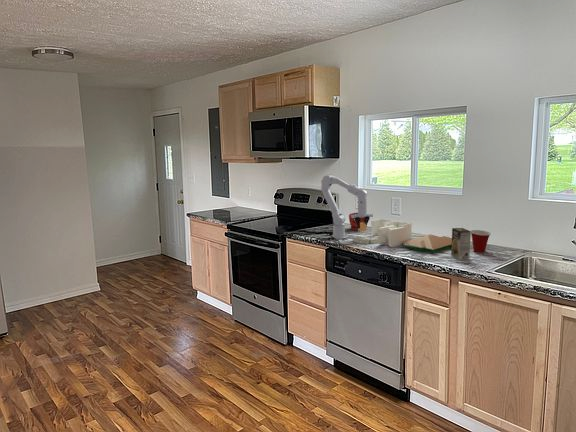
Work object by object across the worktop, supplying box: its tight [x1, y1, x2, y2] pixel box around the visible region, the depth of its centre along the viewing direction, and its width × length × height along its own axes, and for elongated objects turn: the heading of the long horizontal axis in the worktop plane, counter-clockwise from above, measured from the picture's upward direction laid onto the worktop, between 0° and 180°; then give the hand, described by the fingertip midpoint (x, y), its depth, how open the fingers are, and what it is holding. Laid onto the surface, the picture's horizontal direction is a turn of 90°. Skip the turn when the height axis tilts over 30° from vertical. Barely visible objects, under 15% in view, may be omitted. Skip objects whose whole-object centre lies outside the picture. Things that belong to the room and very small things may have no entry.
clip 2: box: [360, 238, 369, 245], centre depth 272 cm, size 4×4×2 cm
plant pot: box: [348, 212, 364, 231], centre depth 315 cm, size 13×13×12 cm
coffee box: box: [450, 227, 472, 261], centre depth 231 cm, size 9×6×16 cm
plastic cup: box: [470, 229, 491, 254], centre depth 242 cm, size 11×11×12 cm
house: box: [401, 234, 452, 255], centre depth 258 cm, size 23×33×8 cm
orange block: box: [357, 223, 367, 232], centre depth 284 cm, size 6×4×5 cm, turn 12°
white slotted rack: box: [370, 218, 412, 241], centre depth 286 cm, size 25×11×11 cm, turn 39°
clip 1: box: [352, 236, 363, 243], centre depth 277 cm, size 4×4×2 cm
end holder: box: [363, 235, 378, 244], centre depth 276 cm, size 9×9×2 cm
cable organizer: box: [377, 225, 407, 248], centre depth 264 cm, size 15×11×12 cm
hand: (362, 227), depth 283 cm, fingers closed on orange block, 4 cm apart
